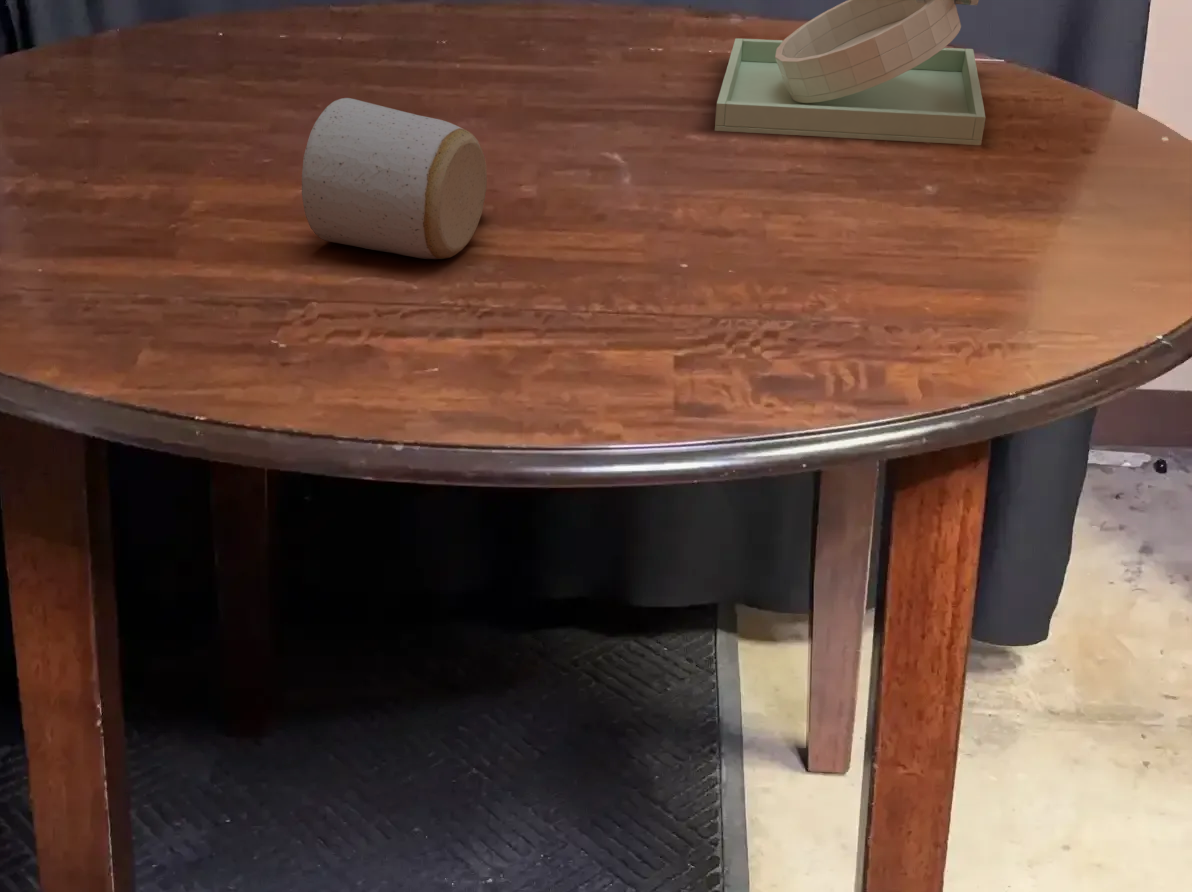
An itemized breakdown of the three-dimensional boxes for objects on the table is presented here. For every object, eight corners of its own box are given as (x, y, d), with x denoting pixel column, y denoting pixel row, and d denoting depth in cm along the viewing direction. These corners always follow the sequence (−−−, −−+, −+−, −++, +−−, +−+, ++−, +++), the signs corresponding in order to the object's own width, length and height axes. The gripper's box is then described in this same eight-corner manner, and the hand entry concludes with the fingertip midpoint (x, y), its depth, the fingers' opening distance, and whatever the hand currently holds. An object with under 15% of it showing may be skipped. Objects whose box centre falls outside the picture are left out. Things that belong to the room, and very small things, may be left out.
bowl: (957, 1, 106) (945, -42, 104) (965, 50, 96) (952, 5, 95) (793, 67, 111) (779, 28, 109) (786, 121, 101) (770, 79, 100)
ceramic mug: (437, 283, 80) (433, 137, 76) (303, 260, 83) (291, 117, 78) (518, 220, 88) (518, 84, 84) (393, 200, 91) (387, 68, 86)
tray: (968, 77, 111) (973, 48, 109) (980, 148, 98) (985, 116, 97) (733, 65, 113) (735, 37, 112) (714, 133, 100) (716, 102, 99)
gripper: (809, -234, 91) (786, 6, 100) (1163, -227, 88) (1109, 21, 96) (813, -246, 96) (791, -16, 105) (1148, -240, 93) (1098, -3, 102)
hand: (946, 2), depth 101 cm, fingers closed on bowl
